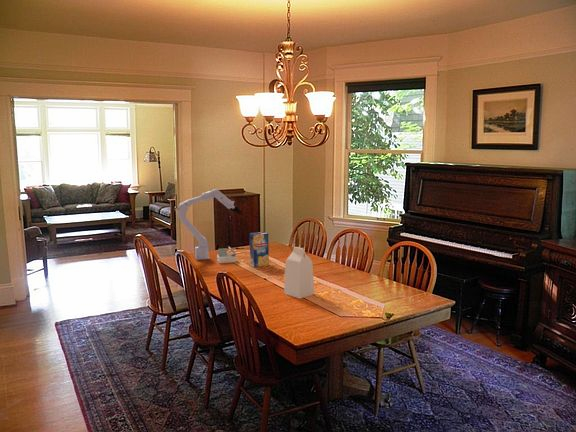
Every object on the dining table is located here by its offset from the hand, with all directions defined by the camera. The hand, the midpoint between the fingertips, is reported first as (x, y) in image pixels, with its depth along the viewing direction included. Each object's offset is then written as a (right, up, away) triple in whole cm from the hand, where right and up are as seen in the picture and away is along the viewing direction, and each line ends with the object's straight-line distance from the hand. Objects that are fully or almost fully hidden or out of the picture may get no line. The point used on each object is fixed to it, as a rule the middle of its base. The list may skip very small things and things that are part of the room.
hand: (239, 212), depth 350 cm
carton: (-8, -34, -12) cm, 37 cm away
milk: (+41, -45, -86) cm, 106 cm away
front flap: (-10, -28, -16) cm, 34 cm away
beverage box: (+16, -36, -23) cm, 46 cm away
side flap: (-4, -27, -12) cm, 30 cm away
